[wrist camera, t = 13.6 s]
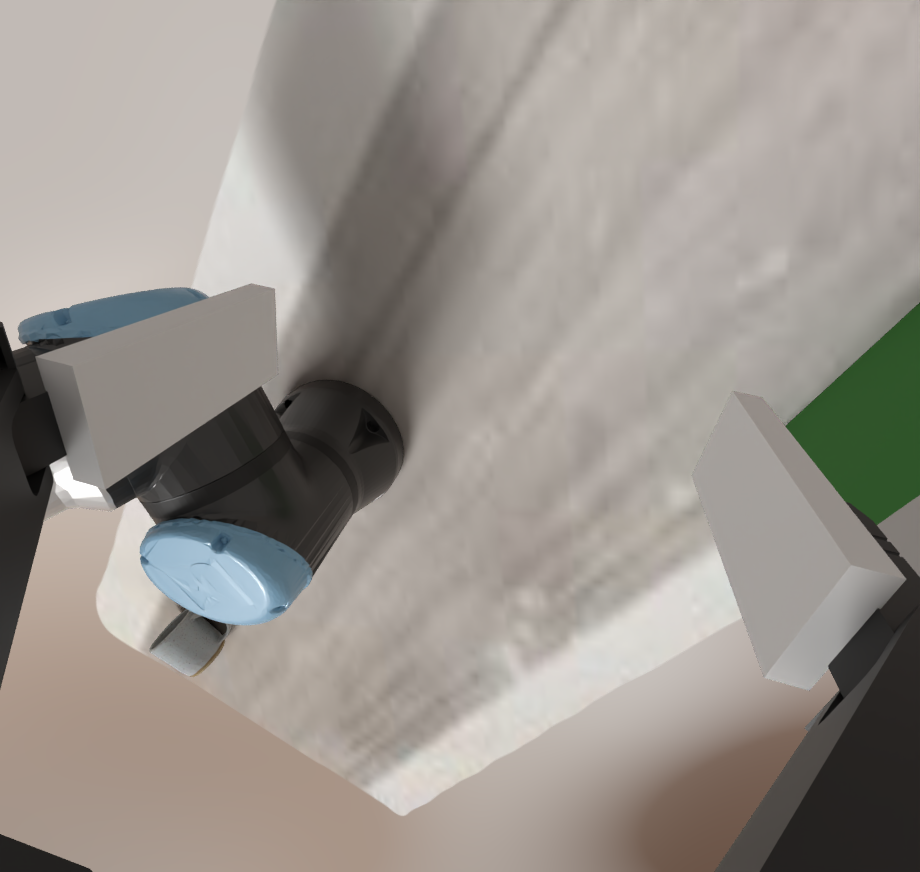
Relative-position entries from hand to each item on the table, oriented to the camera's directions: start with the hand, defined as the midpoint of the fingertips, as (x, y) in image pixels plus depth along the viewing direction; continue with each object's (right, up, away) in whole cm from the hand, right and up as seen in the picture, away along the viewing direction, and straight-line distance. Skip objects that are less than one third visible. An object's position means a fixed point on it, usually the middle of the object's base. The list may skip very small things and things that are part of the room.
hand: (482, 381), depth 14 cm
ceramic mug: (-41, -31, +65) cm, 83 cm away
